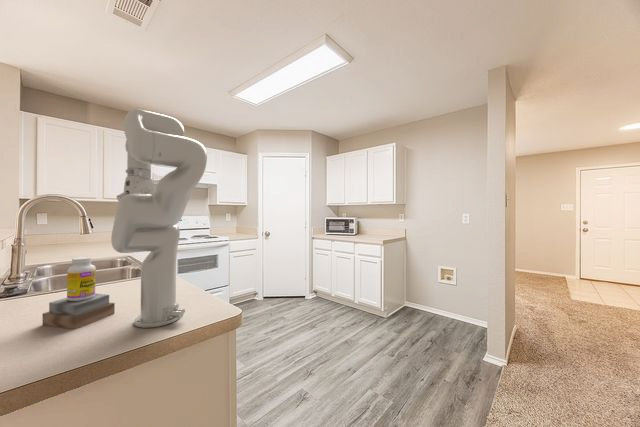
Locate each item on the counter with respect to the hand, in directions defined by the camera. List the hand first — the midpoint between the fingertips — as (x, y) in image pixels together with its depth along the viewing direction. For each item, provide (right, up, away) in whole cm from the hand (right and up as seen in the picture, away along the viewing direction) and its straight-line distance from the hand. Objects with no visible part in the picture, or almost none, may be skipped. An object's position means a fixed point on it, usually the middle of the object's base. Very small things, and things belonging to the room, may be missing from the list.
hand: (138, 218), depth 101 cm
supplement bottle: (-6, -25, -18) cm, 31 cm away
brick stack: (-6, -31, -18) cm, 37 cm away
